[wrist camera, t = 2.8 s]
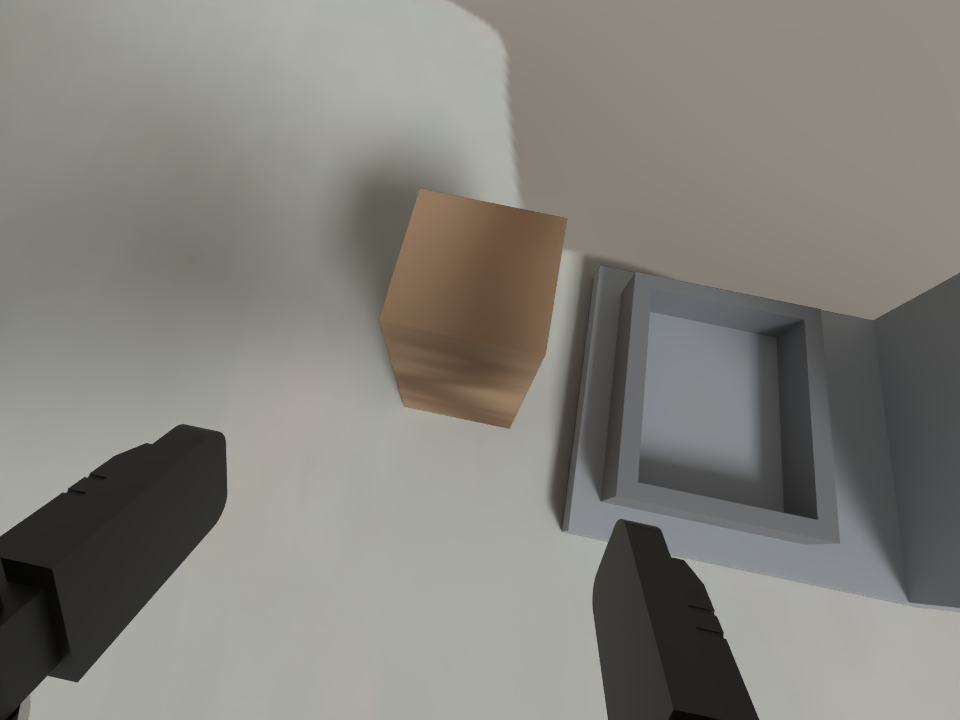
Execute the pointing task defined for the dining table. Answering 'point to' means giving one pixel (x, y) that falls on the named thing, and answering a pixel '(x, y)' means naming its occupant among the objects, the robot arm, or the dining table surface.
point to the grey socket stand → (775, 434)
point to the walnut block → (471, 306)
